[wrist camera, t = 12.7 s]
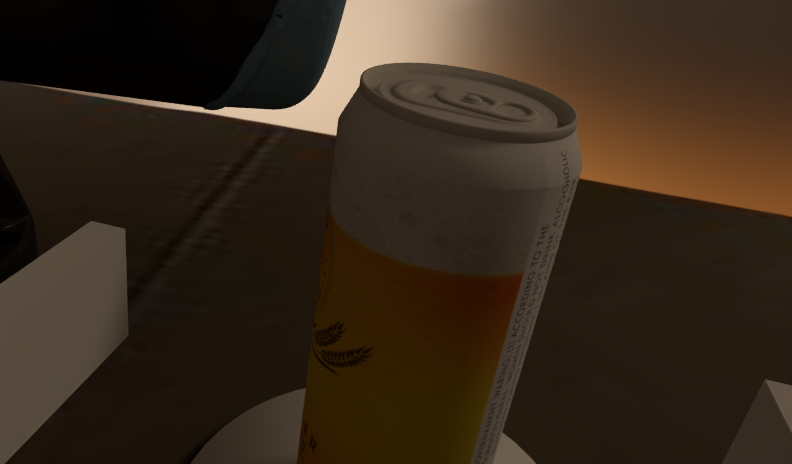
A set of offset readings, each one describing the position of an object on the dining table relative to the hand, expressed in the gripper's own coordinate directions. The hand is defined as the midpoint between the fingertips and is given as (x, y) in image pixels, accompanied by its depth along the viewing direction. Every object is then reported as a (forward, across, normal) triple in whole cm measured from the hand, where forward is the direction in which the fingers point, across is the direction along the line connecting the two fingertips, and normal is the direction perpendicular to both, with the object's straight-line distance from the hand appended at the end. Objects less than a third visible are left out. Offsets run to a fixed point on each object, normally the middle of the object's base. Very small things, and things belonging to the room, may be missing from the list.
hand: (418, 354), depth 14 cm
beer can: (+5, 0, -11) cm, 12 cm away
